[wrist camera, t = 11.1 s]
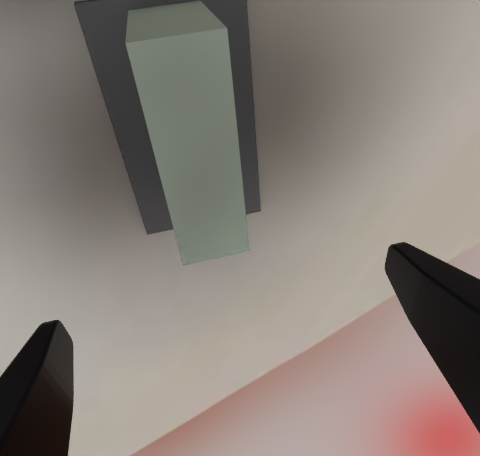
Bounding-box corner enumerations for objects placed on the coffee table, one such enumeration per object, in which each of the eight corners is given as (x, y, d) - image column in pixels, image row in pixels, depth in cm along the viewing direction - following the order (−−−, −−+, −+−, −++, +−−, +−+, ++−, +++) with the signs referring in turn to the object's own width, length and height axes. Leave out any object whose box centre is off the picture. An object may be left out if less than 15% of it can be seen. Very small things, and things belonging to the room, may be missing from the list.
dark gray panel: (242, -21, 16) (245, -20, 16) (258, 206, 24) (260, 211, 23) (75, 1, 15) (73, 3, 15) (147, 229, 23) (147, 234, 22)
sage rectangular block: (224, 182, 21) (249, 250, 17) (172, 192, 21) (182, 265, 16) (200, 0, 16) (227, 28, 11) (128, 10, 15) (125, 43, 11)
